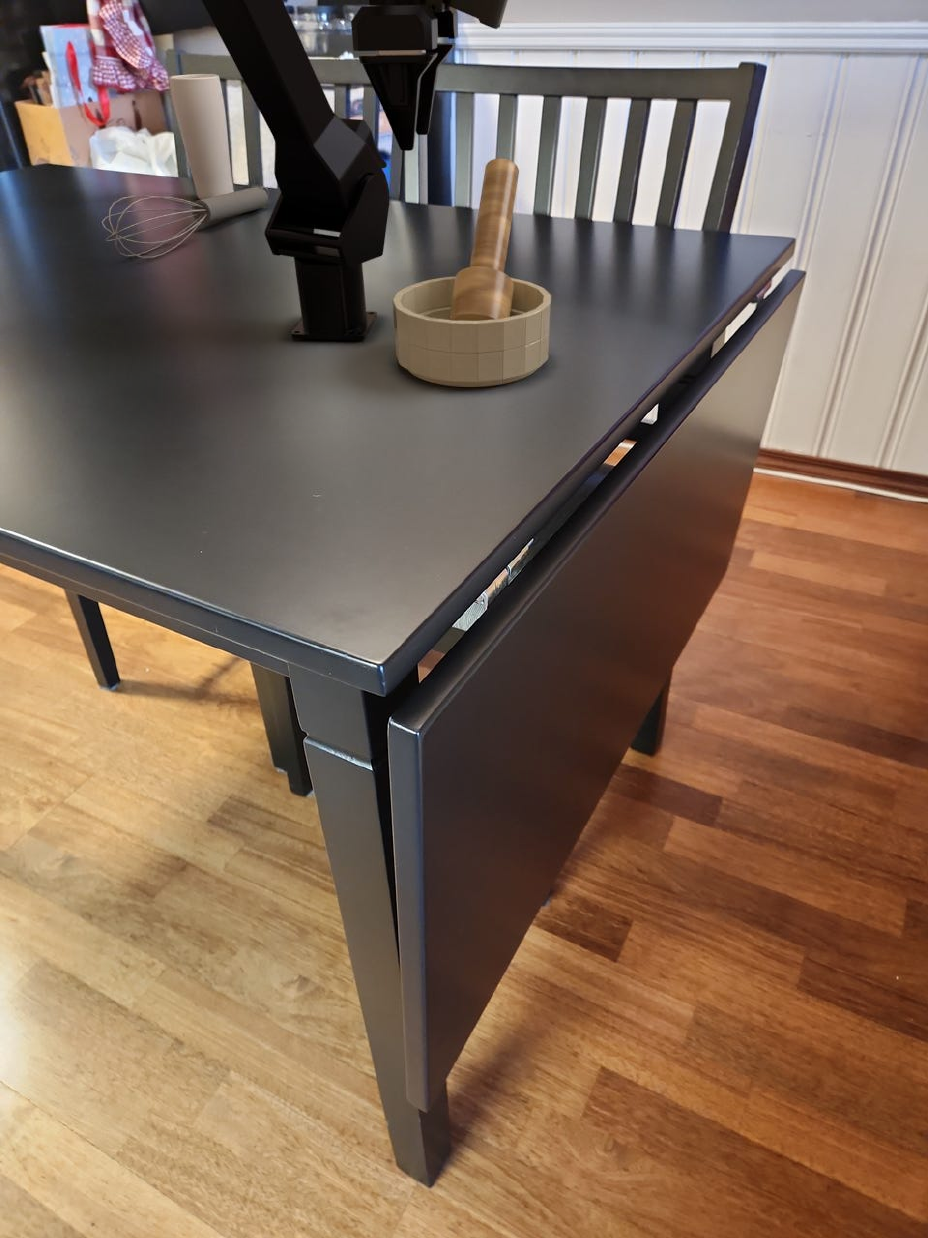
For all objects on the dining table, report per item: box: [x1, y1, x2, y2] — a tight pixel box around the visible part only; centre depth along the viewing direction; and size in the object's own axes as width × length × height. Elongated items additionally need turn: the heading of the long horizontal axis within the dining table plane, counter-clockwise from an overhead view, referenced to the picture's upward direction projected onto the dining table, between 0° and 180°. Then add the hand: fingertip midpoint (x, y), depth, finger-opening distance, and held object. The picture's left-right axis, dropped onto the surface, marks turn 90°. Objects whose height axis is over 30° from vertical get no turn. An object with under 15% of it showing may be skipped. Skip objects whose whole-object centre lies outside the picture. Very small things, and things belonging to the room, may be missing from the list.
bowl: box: [392, 275, 552, 388], centre depth 65 cm, size 12×12×5 cm
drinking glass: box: [168, 73, 235, 200], centre depth 116 cm, size 7×7×15 cm
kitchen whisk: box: [101, 186, 270, 259], centre depth 102 cm, size 6×34×6 cm, turn 162°
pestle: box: [449, 157, 520, 321], centre depth 67 cm, size 5×5×14 cm
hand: (415, 141), depth 75 cm, fingers open, 9 cm apart
